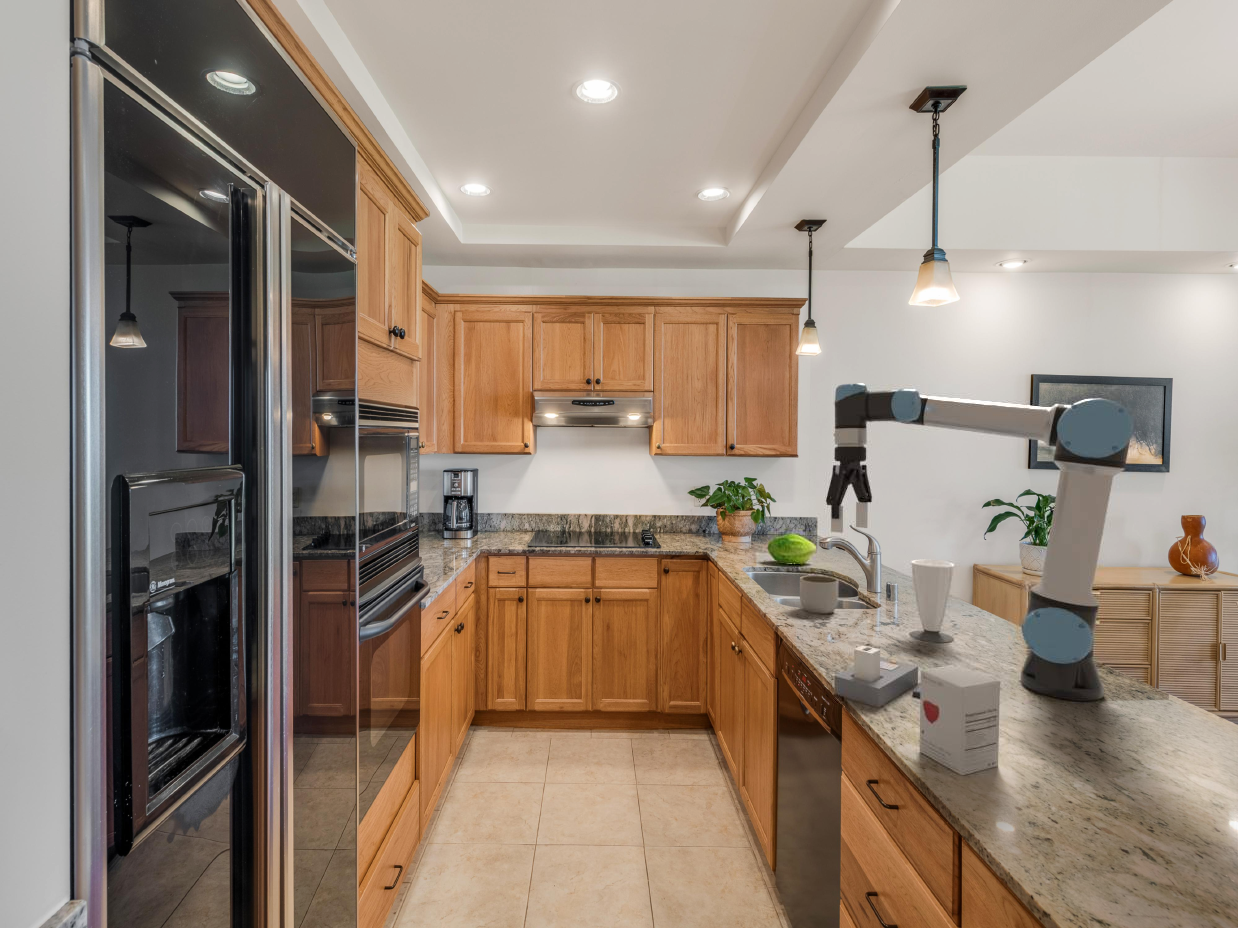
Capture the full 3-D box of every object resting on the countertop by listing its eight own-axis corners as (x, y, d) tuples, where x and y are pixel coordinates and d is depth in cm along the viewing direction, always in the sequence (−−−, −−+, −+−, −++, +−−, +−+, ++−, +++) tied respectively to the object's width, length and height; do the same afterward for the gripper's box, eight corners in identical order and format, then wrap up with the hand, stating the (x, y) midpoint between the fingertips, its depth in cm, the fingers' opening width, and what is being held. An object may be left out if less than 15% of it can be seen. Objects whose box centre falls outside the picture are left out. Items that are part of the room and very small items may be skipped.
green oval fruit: (812, 559, 301) (818, 569, 285) (765, 558, 303) (769, 568, 288) (813, 530, 298) (819, 539, 283) (765, 529, 301) (769, 538, 285)
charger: (879, 689, 135) (880, 648, 135) (871, 694, 132) (871, 652, 132) (862, 684, 138) (862, 644, 138) (853, 689, 135) (854, 648, 135)
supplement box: (917, 751, 109) (918, 668, 109) (954, 743, 112) (955, 662, 112) (961, 776, 101) (962, 686, 100) (1000, 767, 104) (1001, 679, 104)
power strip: (917, 683, 141) (918, 665, 141) (878, 707, 128) (879, 687, 128) (875, 671, 149) (875, 654, 149) (834, 693, 135) (834, 674, 135)
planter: (812, 604, 215) (813, 573, 215) (845, 611, 205) (845, 579, 205) (792, 610, 207) (792, 578, 207) (824, 618, 197) (825, 584, 197)
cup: (960, 643, 171) (961, 567, 170) (916, 641, 173) (917, 565, 172) (945, 631, 182) (946, 559, 182) (904, 630, 184) (905, 558, 183)
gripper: (858, 446, 165) (857, 524, 166) (811, 445, 148) (811, 532, 149) (886, 446, 160) (885, 526, 160) (841, 445, 143) (840, 535, 143)
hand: (849, 529), depth 154 cm, fingers open, 13 cm apart
